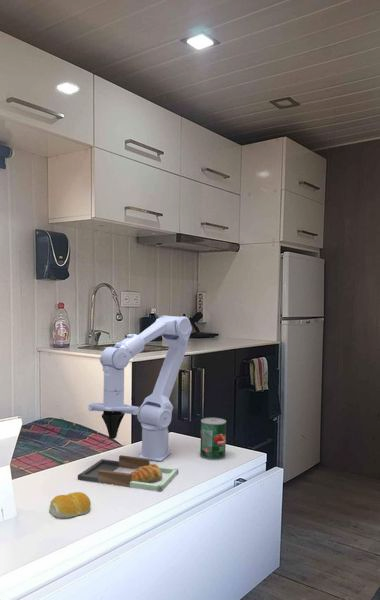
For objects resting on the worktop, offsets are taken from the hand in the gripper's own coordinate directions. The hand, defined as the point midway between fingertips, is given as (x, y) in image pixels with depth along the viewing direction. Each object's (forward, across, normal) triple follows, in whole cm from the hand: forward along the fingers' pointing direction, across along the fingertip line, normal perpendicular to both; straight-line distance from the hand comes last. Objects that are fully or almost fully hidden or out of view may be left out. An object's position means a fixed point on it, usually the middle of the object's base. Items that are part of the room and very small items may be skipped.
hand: (112, 437), depth 140 cm
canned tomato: (+9, +24, +21) cm, 33 cm away
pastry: (+9, +12, -5) cm, 16 cm away
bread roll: (+9, +2, -28) cm, 30 cm away
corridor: (+9, +5, -4) cm, 11 cm away
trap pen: (+9, -2, -4) cm, 10 cm away
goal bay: (+9, +14, -4) cm, 17 cm away
